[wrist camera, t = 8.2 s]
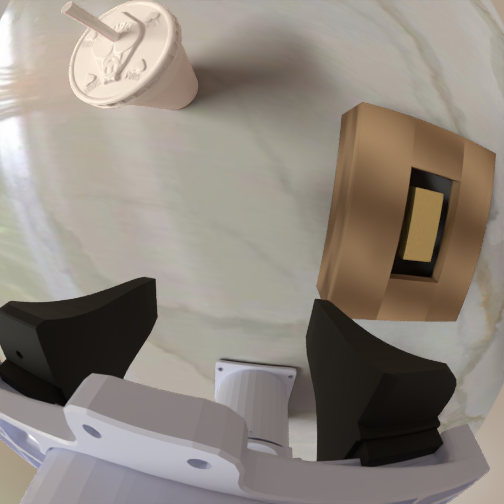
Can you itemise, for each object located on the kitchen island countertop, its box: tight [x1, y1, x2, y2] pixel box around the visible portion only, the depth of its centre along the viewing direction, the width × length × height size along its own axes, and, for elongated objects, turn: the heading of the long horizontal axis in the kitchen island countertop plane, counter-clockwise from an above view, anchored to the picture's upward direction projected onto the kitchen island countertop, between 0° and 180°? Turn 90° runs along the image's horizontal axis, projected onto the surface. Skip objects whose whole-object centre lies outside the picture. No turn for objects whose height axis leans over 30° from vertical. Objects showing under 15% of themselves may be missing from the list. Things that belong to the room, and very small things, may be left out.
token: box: [396, 186, 444, 262], centre depth 18 cm, size 5×2×4 cm, turn 176°
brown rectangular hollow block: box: [317, 102, 496, 321], centre depth 18 cm, size 14×12×5 cm
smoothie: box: [61, 0, 198, 110], centre depth 12 cm, size 6×6×14 cm
